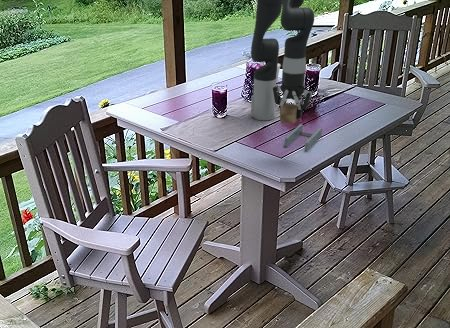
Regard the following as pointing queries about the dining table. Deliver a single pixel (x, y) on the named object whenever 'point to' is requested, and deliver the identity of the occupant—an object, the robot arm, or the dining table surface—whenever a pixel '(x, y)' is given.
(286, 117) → the block
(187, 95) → the dining table surface
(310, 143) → the channel
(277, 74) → the smoothie
